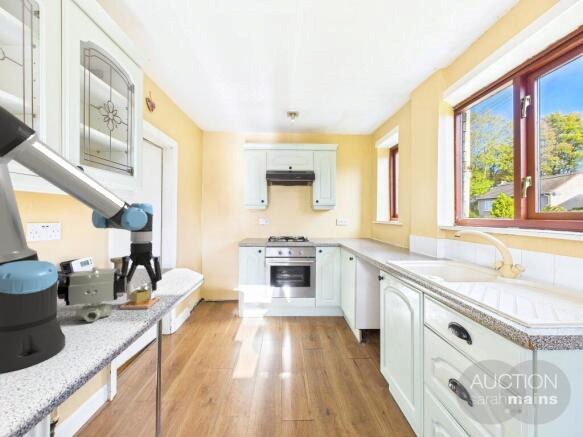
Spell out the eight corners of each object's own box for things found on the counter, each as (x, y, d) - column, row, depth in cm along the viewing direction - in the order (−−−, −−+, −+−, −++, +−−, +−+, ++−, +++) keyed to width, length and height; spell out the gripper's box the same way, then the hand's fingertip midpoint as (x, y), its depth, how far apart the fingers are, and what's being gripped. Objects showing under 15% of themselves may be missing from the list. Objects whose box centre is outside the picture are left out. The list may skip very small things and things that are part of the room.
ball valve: (54, 329, 78) (55, 272, 77) (64, 318, 85) (64, 267, 85) (123, 318, 86) (124, 268, 86) (126, 310, 94) (127, 263, 93)
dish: (147, 309, 95) (147, 306, 95) (120, 309, 94) (120, 306, 94) (159, 300, 105) (159, 297, 105) (134, 300, 104) (134, 297, 104)
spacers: (144, 300, 104) (144, 288, 104) (106, 300, 103) (106, 288, 103) (159, 289, 119) (160, 279, 119) (127, 289, 118) (127, 279, 118)
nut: (151, 300, 103) (151, 288, 103) (144, 306, 96) (144, 293, 96) (137, 300, 102) (137, 288, 102) (129, 306, 96) (129, 293, 96)
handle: (127, 289, 118) (127, 258, 118) (110, 292, 113) (111, 259, 113) (125, 287, 121) (125, 256, 121) (109, 289, 117) (109, 258, 117)
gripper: (171, 241, 104) (171, 295, 104) (120, 240, 102) (119, 295, 102) (164, 243, 96) (163, 301, 96) (108, 242, 94) (107, 302, 95)
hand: (140, 298), depth 99 cm, fingers open, 8 cm apart
